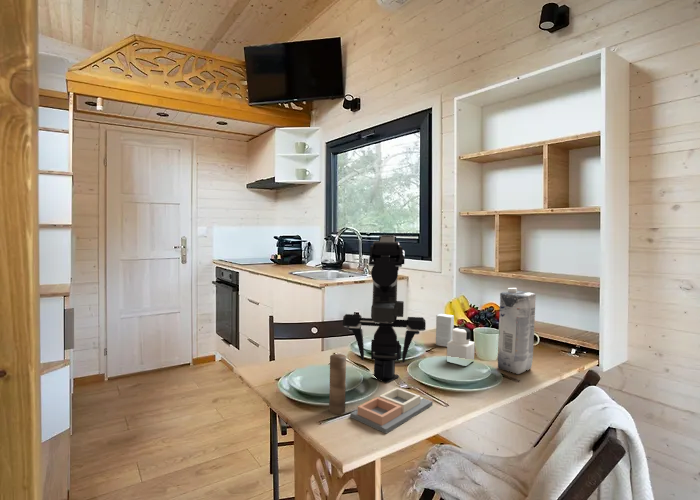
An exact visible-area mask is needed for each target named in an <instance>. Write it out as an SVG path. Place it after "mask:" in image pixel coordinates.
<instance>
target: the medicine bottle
mask: <svg viewBox="0 0 700 500" xmlns="http://www.w3.org/2000/svg"><path fill="white" fill-rule="evenodd" d="M447 356H451V357H459V358H465V359H473V360H474V361H475V341H472V340H471V330H470V328H468V327H464V326H455V327H454V328H453V329H452V340H451V341H449V342H448V343H447V347H446V357H447Z"/></svg>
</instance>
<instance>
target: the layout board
mask: <svg viewBox="0 0 700 500" xmlns="http://www.w3.org/2000/svg"><path fill="white" fill-rule="evenodd" d="M433 403H434V402H433V400H429V399H426V398H424V397H423V396H422V397H421V395H419V394H416V393H414V392H412V391H411V392H410V391H408V390H406V389H403V388H400V387H397V386H396V387H394V388H392V389H391V390H388V391H386V392H384V393H383V394H380V395H379V397H378V396H376V397H374V398H372V399H370V400H368V401H366V402H364V403H362V404H360V405H358V406H357V409H355V410H354V411H352V412H350V418H352V419H353V420H355V421H358V422H359V423H362V424H364V425H367V426H369V427H371V428H373V429H375V430H378V431H380V432H382V433H384V434H388V433H389V432H391V431H392V430H394V429H396V428H398V427H400V426H401V425H402V424H404V423H406V422H408V421H410V420H411V419H412V418H414V417H416V416H417V415H419V414H421V413H422V412H424V411H426V410H427V409H429V408H430V407H432V406H433Z"/></svg>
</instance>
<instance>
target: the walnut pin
mask: <svg viewBox="0 0 700 500" xmlns="http://www.w3.org/2000/svg"><path fill="white" fill-rule="evenodd" d="M346 373H347V356H346V355H345V354H342V353H334V354H331V355H330V356H329V399H328V400H329V403H328V404H329V405H328V407H329V409H328V410H329V411H328V412H329V414H331V415H333V416H340V415H343V414H345V413H346V384H347V383H346V380H347V379H346V377H347V376H346V375H347V374H346Z"/></svg>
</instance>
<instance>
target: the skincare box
mask: <svg viewBox="0 0 700 500" xmlns="http://www.w3.org/2000/svg"><path fill="white" fill-rule="evenodd" d="M435 317H436V318H435V319H436V321H435V322H436V324H435V346H441V347H446V348H447V343H448V342H449V341H451V340H452V329H453V328H455V315H454V314H453V315H452V314H445V313H438V314H437V315H435Z"/></svg>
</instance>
